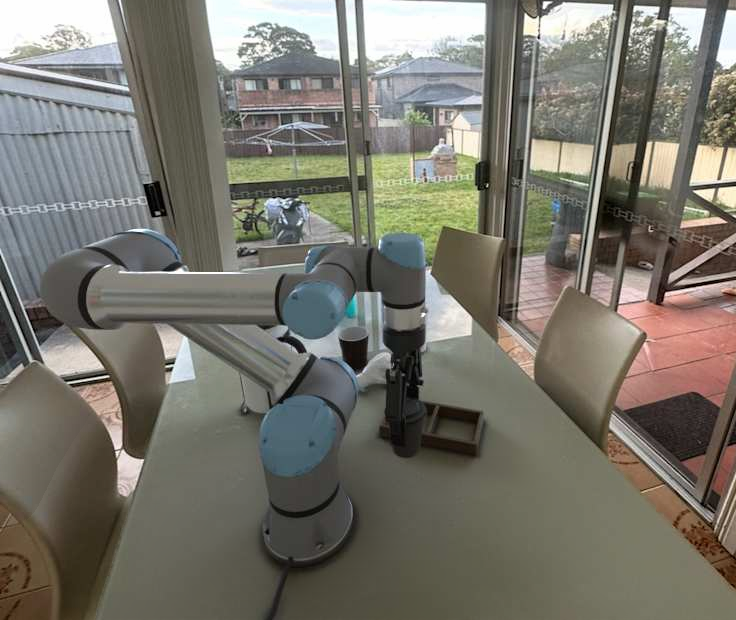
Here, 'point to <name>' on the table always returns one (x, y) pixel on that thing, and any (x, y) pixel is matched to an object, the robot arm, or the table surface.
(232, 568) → the table surface
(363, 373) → the white lumpy figurine
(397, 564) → the table surface
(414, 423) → the coffee cup
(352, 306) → the cyan wheel pair
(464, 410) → the frame
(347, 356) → the coffee mug
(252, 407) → the coffee press
